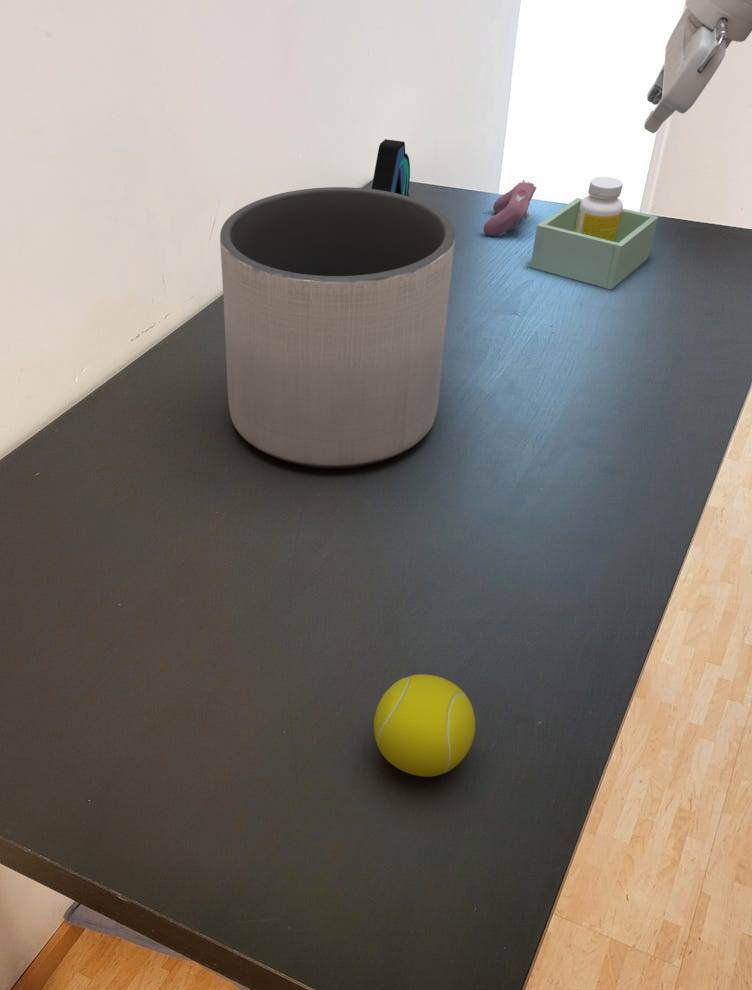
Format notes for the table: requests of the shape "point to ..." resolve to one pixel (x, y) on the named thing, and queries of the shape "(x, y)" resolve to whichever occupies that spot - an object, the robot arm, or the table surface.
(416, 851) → the table surface
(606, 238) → the supplement bottle
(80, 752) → the table surface
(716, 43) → the robot arm
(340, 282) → the planter
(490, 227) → the mauve lumpy piece
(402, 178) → the decorative sign
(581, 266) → the bin
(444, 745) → the tennis ball
